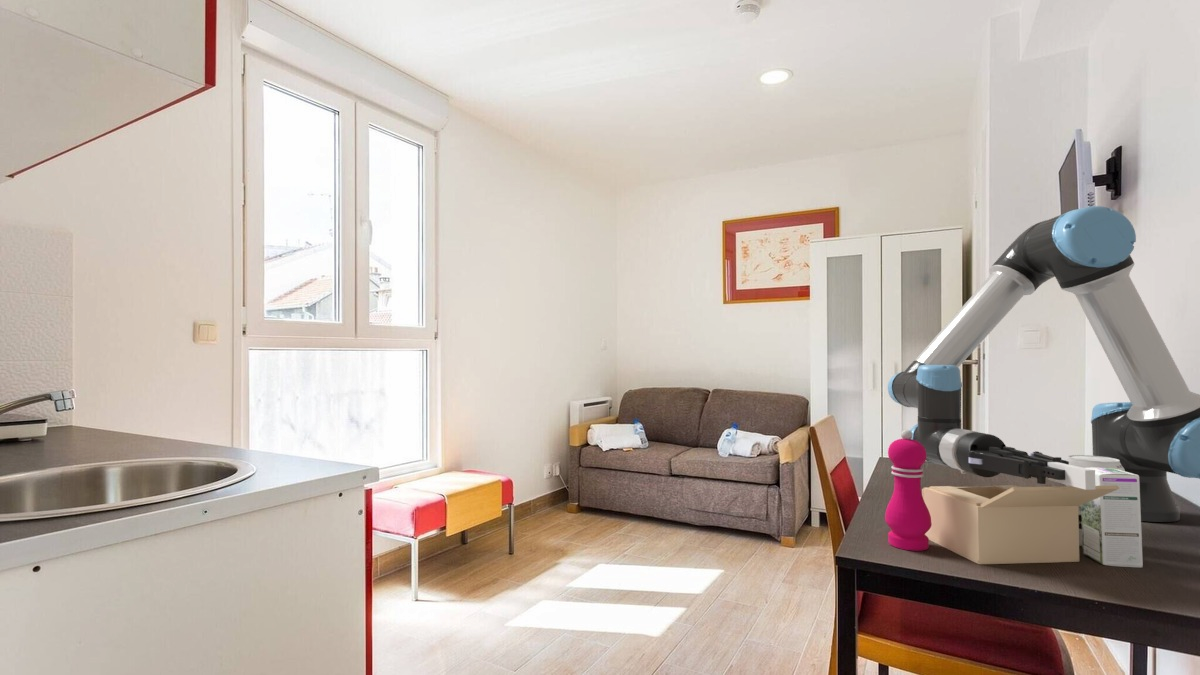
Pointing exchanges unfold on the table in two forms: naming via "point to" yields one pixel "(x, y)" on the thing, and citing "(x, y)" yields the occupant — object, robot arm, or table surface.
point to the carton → (1000, 527)
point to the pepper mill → (907, 496)
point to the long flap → (1047, 496)
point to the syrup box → (1114, 521)
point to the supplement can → (1089, 462)
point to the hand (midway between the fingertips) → (1090, 479)
